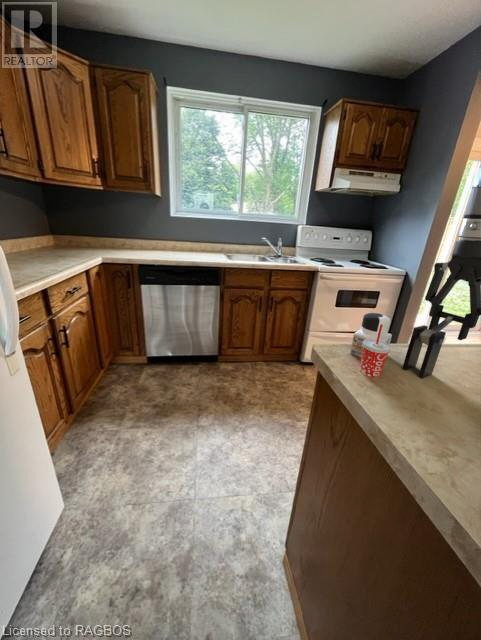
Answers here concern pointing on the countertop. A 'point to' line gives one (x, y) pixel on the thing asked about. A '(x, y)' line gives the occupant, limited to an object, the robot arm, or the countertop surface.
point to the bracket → (430, 353)
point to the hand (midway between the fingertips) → (446, 333)
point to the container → (370, 332)
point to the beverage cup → (374, 356)
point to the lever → (439, 326)
